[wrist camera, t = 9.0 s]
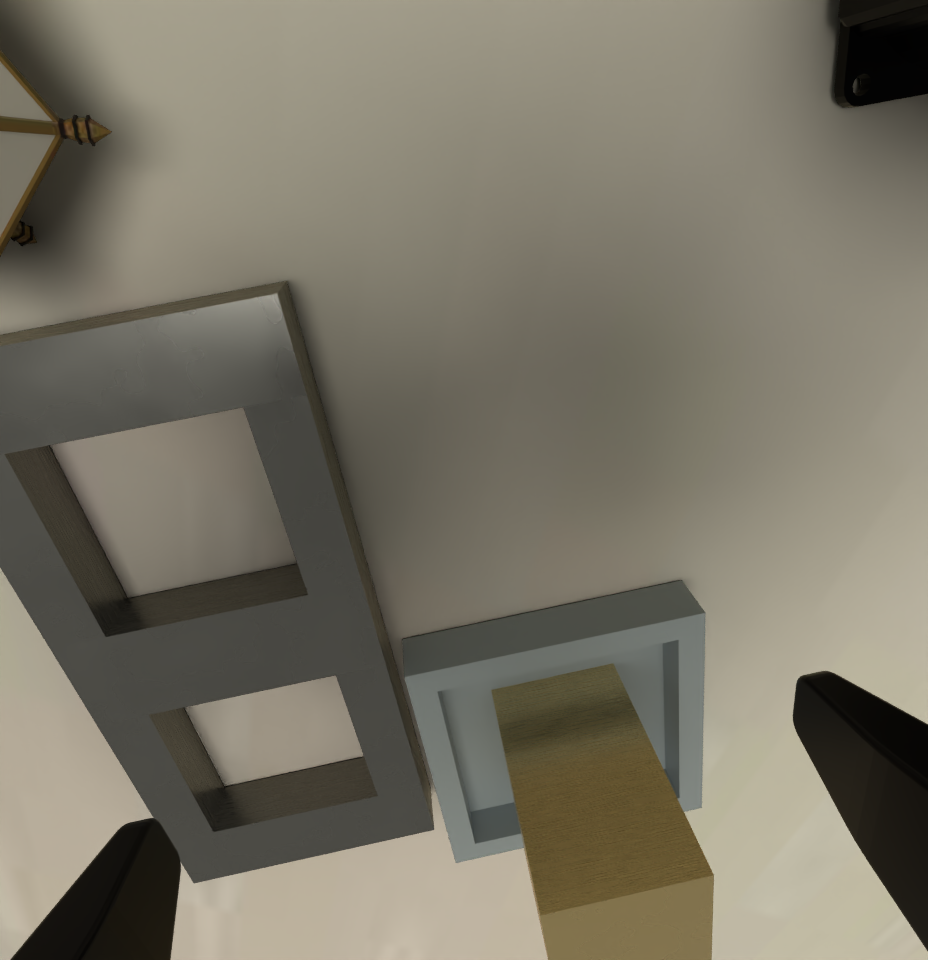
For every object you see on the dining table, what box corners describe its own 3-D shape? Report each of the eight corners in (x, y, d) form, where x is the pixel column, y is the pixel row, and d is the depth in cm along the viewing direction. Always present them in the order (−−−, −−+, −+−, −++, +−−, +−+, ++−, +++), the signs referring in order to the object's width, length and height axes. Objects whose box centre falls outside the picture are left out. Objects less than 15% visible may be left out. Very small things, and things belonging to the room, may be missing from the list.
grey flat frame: (286, 280, 18) (277, 293, 16) (430, 787, 28) (434, 829, 26) (-71, 348, 18) (-122, 369, 16) (205, 837, 28) (193, 883, 26)
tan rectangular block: (613, 663, 25) (713, 875, 18) (619, 747, 28) (710, 967, 20) (491, 689, 25) (540, 915, 18) (507, 773, 27) (557, 1004, 20)
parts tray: (681, 580, 24) (705, 612, 23) (682, 768, 30) (701, 807, 28) (402, 639, 24) (404, 677, 22) (451, 820, 29) (456, 863, 27)
